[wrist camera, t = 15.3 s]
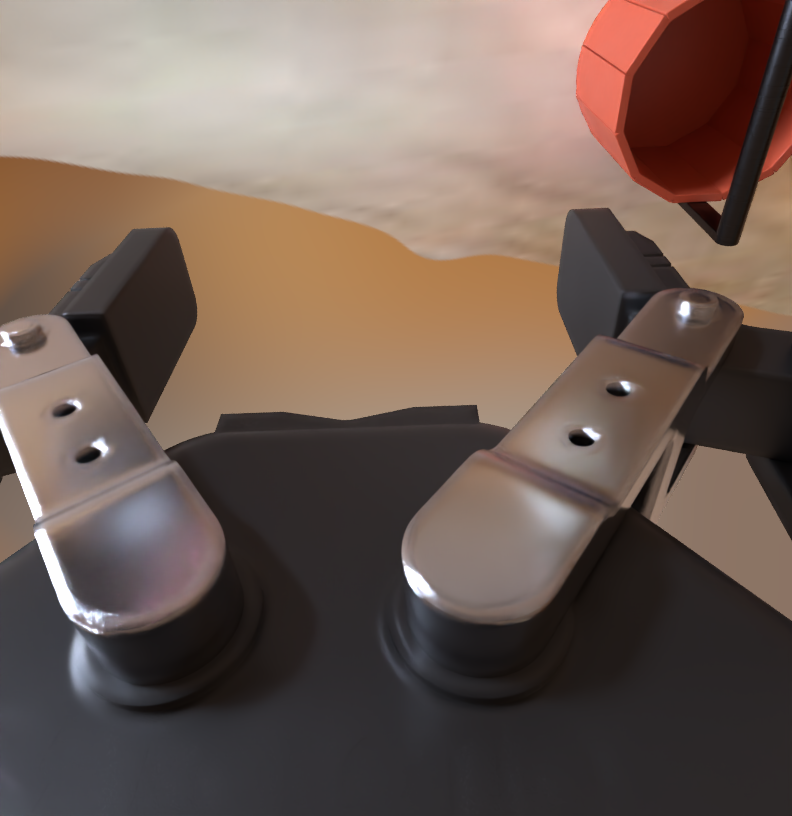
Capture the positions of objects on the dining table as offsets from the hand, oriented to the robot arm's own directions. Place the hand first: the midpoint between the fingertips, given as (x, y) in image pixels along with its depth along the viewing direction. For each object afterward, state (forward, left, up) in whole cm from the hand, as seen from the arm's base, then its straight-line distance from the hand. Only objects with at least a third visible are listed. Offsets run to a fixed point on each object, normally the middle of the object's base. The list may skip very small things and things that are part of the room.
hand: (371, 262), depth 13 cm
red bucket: (+9, +16, -34) cm, 39 cm away
